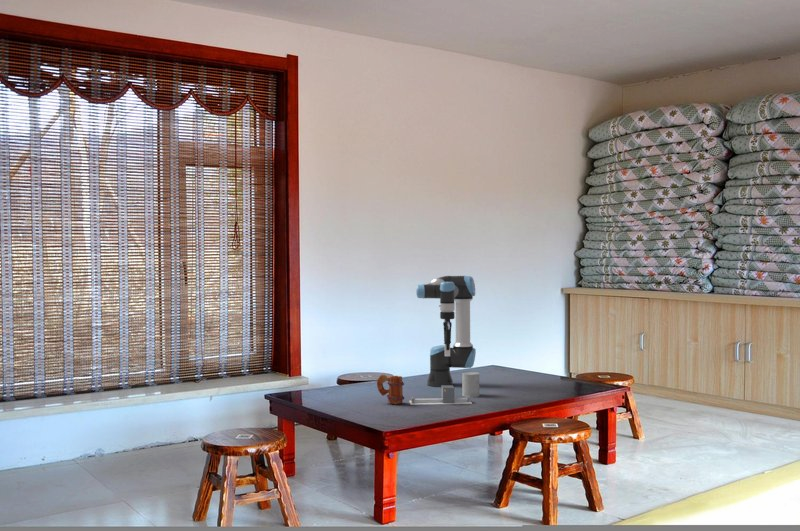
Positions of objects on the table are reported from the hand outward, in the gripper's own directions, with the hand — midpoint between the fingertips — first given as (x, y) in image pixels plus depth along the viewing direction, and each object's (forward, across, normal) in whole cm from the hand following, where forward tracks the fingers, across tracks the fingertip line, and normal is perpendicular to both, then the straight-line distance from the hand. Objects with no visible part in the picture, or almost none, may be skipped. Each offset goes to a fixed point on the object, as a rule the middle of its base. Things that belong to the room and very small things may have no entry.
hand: (447, 356), depth 407 cm
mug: (+25, 0, -30) cm, 39 cm away
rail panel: (+24, +1, -4) cm, 25 cm away
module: (+24, +1, 0) cm, 24 cm away
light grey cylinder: (+25, -18, +15) cm, 34 cm away
